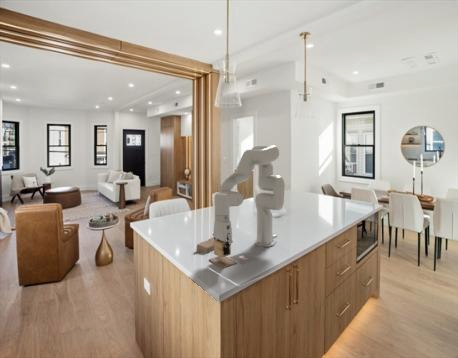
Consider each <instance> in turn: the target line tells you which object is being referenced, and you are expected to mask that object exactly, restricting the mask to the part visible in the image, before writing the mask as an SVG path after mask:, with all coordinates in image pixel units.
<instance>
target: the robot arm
mask: <svg viewBox="0 0 458 358" xmlns="http://www.w3.org/2000/svg"><path fill="white" fill-rule="evenodd" d="M279 156H280V149H279V147H278V146H276V145H256V146H253V147H252V148H251V149H247V150H245V151H244V152H243V153H242V156H241V157H240V160H239V162H238V165H236V166H237V167H236V169H235V171H234V172H233V173H232V174H230V175H229V176H228V177H227V178H226V179H225V180H224V181H223V182H222V184H221V186H220V188H219V189H218V190H219V191H218V192H217V193H215V195H214V199H213V201H214V222H213V233H212V236H213V237H214V240H218V239H219V240H221V241H223V243H224V255H227V254H229V247H230V245H231V246H232V244H233V243H234V241H233V228H232V222H231V220H230V217H231V216H230V215H231V213H230V211H231V210H230V208H231V207H238V206H241V205H242V203H243V202H244V200H245V199H244V196H243V194H242V193H241V192H239V191H236V190H235V191H234V190H232V189H233V188H234V187H235V186H237V185H238V184H241V183H243V182H246V181H247V180H249V179H250V177H252V176H251V175H252V173H253V170H254V168H255V166H258V181H257V182H258V188H259V189H260V190H261V191H265V192H260V193H257V194H256V196H255V198H254V203H255V208H256V239H255V240H254V241H253V244H255V245H256V246H259V247H265V248H269V247H273V246H275V244H276V242H275V240H274V239H276V238H278V235H277V234H273V212H272V211H281V210H282V209H283V207H284V204H285V187H286V185H285V180H284V178H283V177H282V176H281V175H277V174H276V175H274V165H273V163H272V162H275V161H277V160H278V158H279ZM266 191H267V192H266ZM270 192H272V193H270ZM213 237H212V238H213ZM226 242H227V244H226Z"/></svg>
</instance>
